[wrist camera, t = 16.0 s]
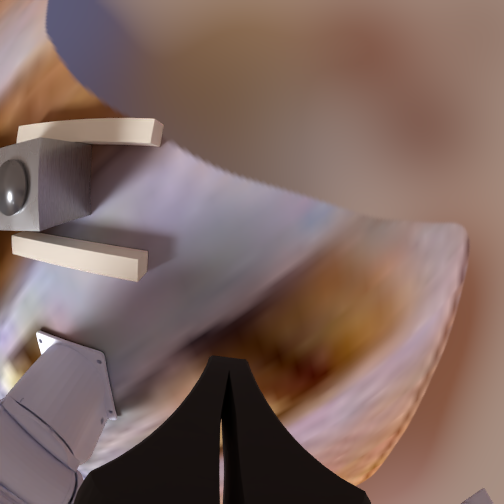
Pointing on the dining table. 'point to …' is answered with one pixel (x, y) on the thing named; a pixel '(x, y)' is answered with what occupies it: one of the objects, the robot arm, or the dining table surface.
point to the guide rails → (79, 251)
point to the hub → (44, 183)
